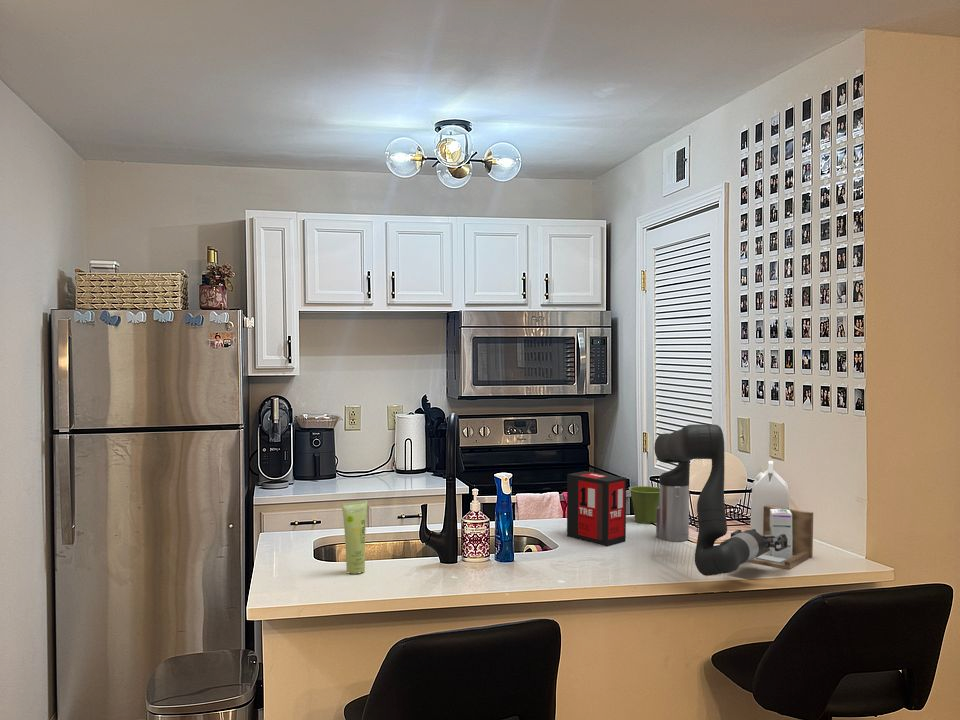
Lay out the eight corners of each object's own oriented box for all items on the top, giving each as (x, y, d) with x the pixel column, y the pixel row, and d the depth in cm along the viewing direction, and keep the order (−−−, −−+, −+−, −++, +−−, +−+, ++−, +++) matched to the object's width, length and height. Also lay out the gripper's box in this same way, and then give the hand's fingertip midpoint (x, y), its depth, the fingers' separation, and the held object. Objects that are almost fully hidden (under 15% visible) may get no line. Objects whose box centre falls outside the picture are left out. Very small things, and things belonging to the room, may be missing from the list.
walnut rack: (740, 564, 242) (741, 515, 241) (764, 552, 255) (765, 505, 254) (789, 574, 233) (790, 523, 232) (812, 560, 246) (813, 512, 245)
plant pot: (667, 525, 288) (667, 492, 287) (632, 525, 288) (632, 492, 287) (659, 517, 300) (659, 485, 299) (625, 517, 299) (625, 485, 299)
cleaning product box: (625, 541, 267) (626, 478, 266) (607, 546, 261) (607, 481, 260) (585, 531, 279) (585, 471, 278) (566, 536, 273) (567, 474, 272)
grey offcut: (755, 561, 242) (755, 557, 242) (763, 557, 245) (763, 554, 245) (779, 565, 237) (779, 562, 237) (786, 562, 240) (786, 559, 240)
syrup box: (792, 564, 242) (793, 513, 242) (770, 562, 244) (771, 512, 243) (789, 558, 248) (790, 509, 247) (768, 557, 249) (769, 508, 249)
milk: (789, 553, 253) (791, 466, 252) (749, 550, 257) (750, 464, 256) (789, 543, 265) (790, 460, 264) (750, 540, 269) (751, 458, 267)
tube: (359, 576, 231) (358, 504, 230) (342, 574, 232) (341, 503, 231) (368, 570, 236) (367, 500, 235) (351, 568, 237) (350, 498, 237)
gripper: (770, 537, 222) (794, 526, 234) (719, 528, 232) (745, 517, 244) (770, 565, 223) (794, 553, 235) (719, 555, 232) (744, 543, 244)
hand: (769, 535), depth 239 cm, fingers open, 8 cm apart
